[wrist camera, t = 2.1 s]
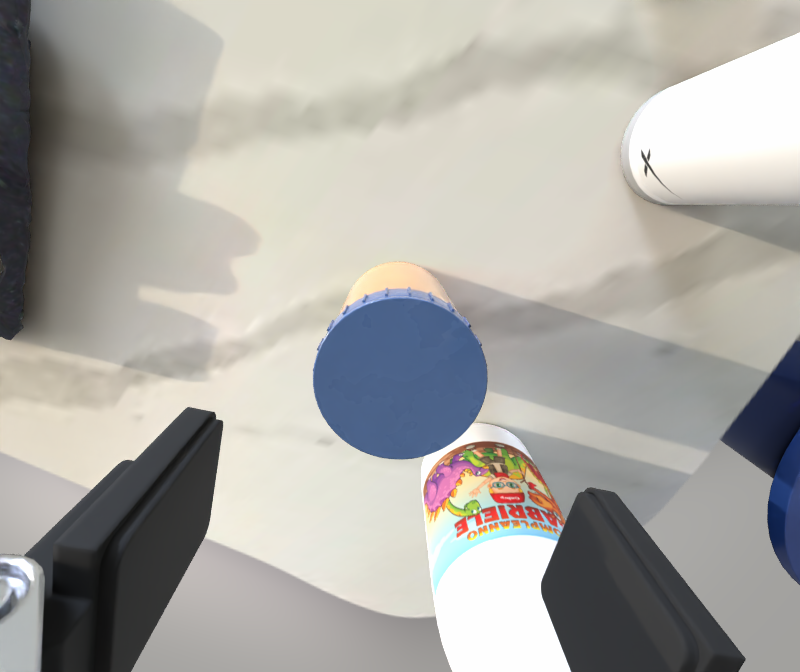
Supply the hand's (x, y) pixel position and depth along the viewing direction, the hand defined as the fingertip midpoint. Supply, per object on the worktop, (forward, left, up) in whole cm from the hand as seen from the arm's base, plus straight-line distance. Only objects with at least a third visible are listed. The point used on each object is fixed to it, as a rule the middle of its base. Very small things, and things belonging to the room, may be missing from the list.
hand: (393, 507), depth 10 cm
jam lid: (0, 0, -8) cm, 8 cm away
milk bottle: (-8, +10, -19) cm, 22 cm away
